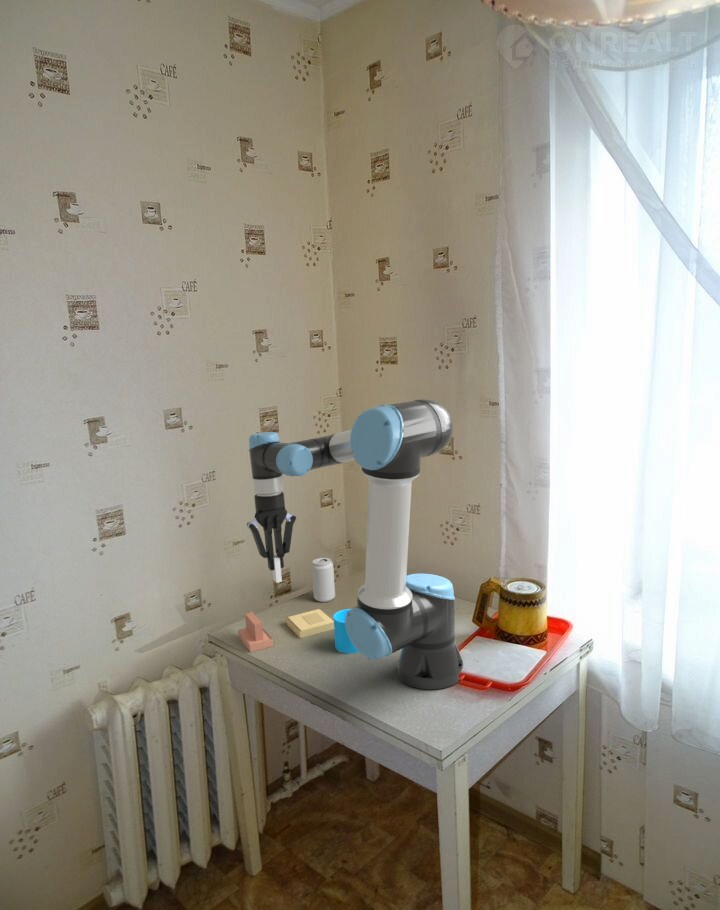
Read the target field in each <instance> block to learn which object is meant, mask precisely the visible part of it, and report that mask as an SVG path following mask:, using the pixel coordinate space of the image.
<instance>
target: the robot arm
mask: <svg viewBox="0 0 720 910" xmlns="http://www.w3.org/2000/svg"><path fill="white" fill-rule="evenodd" d="M453 423H454V422H453V418H452V417H451V414H450V412H449V411H448V409H446V407H445V406H444V405H442V404H441V403H439V402H438V401H435V400H432V399H427V398H426V399H423V398H422V399H415V400H410V401H405V402H404V401H403V402H397V403H392V404H391V403H390V404H381V405H377V406H375V407H372V408H367V409H366V410H363V411H362V412H361V414H360V415H358V416H357V418H356V419H355V421H354V422H353V424H352V427H351V429H348V430H344V431H341V432H340V431H339V432H337V433H333V434H328V435H324V436H320V437H315V438H310V439H305V440H304V439H303V440H299V441H294V442H280V438H279V434H278V433H277V431H276V432H275V431H261V432H256V433H252V434H250V436H249V438H248V445H249V447H248V452H249V459H250V466H251V476H252V487H253V492H254V494H255V495H254V496H253V497H254V507H255V515H254V518H253V520H251V521H250V522H249V521H248V522H247V523H246V527H247V528H248V529H249V530H250V532H251V534H252V536H253V539H254V542H255V545H256V548H257V550H258V551H257V552H258V553H259V556H261V557H262V558H263V559H266V560H267V567H268V569H269V570H270V571H271V572H272V573H271V574H272V581H274V583H276V584H278V583H281V582H282V583H283V580H282V579H283V577H282V569H284V567H285V563H284V557H285V554H289V553H290V550H291V544H292V538H293V537H292V536H293V535H292V534H293V530H294V529H293V527H294V524H295V522H296V520H297V516H296V515H293V514H291V513H288V510H287V509H286V503H285V492H283V491H284V483H283V480H284V479H283V475H285V476H287V477H288V476H289V477H302V476H305V475H306V474H308V472H309V471H312V470H316V469H321V468H325V467H331V466H335V465H341V464H344V463H348V462H353V461H355V462H356V463H357V464H358V465H359V466H360V467H361V473H362V474H363V475H364V476H365V477H366V478H367V479H368V493H367V494H368V496H367V500H368V501H367V525H366V552H365V574H364V575H365V579H364V582H365V583H364V584H363V585H362V586H361V587H359V589H358V590H357V600H356V601H357V603H356V604H357V605H356V606H355V607H354V606H353V607H351V608H350V609H351V610H350V611H349V612H347V614H346V617H345V626H346V630H347V633H348V636H349V638H350V640H351V642H352V643H353V645H354V647H355V648H356V649H357V650H358V651H359V652H358V653H360V654H361V655H362V656H363V657H365V658H367V659H368V660H371V661H373V660H374V661H376V660H379V659H382V658H385V657H390V656H391V655H392V654H394V653H396V652H398V651H400V650H401V652H400V655H399V659H398V662H397V675H398V677H399V679H400V680H401V681H402V682H403V683H404V684H406V685H408V686H410V687H413V688H417V689H422V690H442V689H445V688H449V687H452V686H455V685H456V684H457V683H459V682H460V681H459V675H460V673H461V671H462V669H463V666H464V661H463V658H462V656H461V654H460V650H459V648H458V645H457V642H456V625H455V624H456V623H455V622H456V618H455V611H456V610H455V600H456V597H455V595H454V592H455V591H454V585H453V583H452V582H451V581H450V580H449V579H448V578H446V577H444V576H440V575H436V574H431V573H411V574H408V575H407V573H408V572H407V571H408V558H409V557H408V555H409V553H408V552H409V536H410V535H409V534H410V521H411V520H410V519H411V501H412V500H411V499H412V487H413V486H412V484H413V483H412V482H413V481H414V480H415V479H416V478H418V477H419V476H420V473H421V464H422V463H421V461H422V458H426V457H430V456H433V455H435V454H438V453H439V452H441V451H443V449H444V448H446V446H448V444H449V443H450V441H451V438H452V437H453V431H454V424H453ZM284 522H285V523H284ZM283 523H284V532H283V537H282V531H283V528H282V525H283ZM258 524H259V525H260V526H261V527H262V529H263V532H264V543H265V544H264V543H263V540H262V539H263V538H262V536H261V533H260V531H259V530H258V527H259V525H258ZM273 537H274V542H273ZM274 547H275V552H274ZM274 553H275V555H274Z"/></svg>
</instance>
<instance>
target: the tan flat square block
mask: <svg viewBox="0 0 720 910" xmlns="http://www.w3.org/2000/svg"><path fill="white" fill-rule="evenodd" d="M285 619H286V621H285V622H286V626H288V627H289V628H290V629H291V630H292V631H293V633H295V635H296V636H298V638H300V639H304V638H307V637H310V636H314V635H317V634H322V633H325V632H329V631H331V630H333V631H334V619H332V618H331V617H330V616H328V615H327V614H326V613H325V612H324V611H323V610H321V608H317V609H314V610H310V611H305V612H302V613H299V614H295V615H291V616H286V617H285Z"/></svg>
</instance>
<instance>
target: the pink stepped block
mask: <svg viewBox="0 0 720 910" xmlns="http://www.w3.org/2000/svg"><path fill="white" fill-rule="evenodd" d="M244 619H245V627H244V628H241V629H237V634H238V638H239V640H240V641H241V643H243V645H244V646H245V647H246V649H247V650H248V651H249V653H252V652H256V651H260V650H263V649H267V648H270V647H273V646H274V644H273V637H272V636H271V635H270V634H269V633H268V631H266V629H265V628H264V627H263V622H262V621H261V620H260V619H259V618H258V617H257V616H256V614H254V612H253V611H249V612H247V613H246V612H245V613H244Z"/></svg>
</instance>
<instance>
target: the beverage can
mask: <svg viewBox="0 0 720 910" xmlns="http://www.w3.org/2000/svg"><path fill="white" fill-rule="evenodd" d="M334 570H335V569H334V563H333V561H332V559H331V558H329V557H319V558H318V557H317V558H315V559H314V560H312V564H311V577H312V588H313V589H312V590H313V599H315V600H316V602H318V601H319V603H327V602H331V601H332V600H333V599H335V597H336V588H335V587H336V586H335V575H334Z"/></svg>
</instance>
